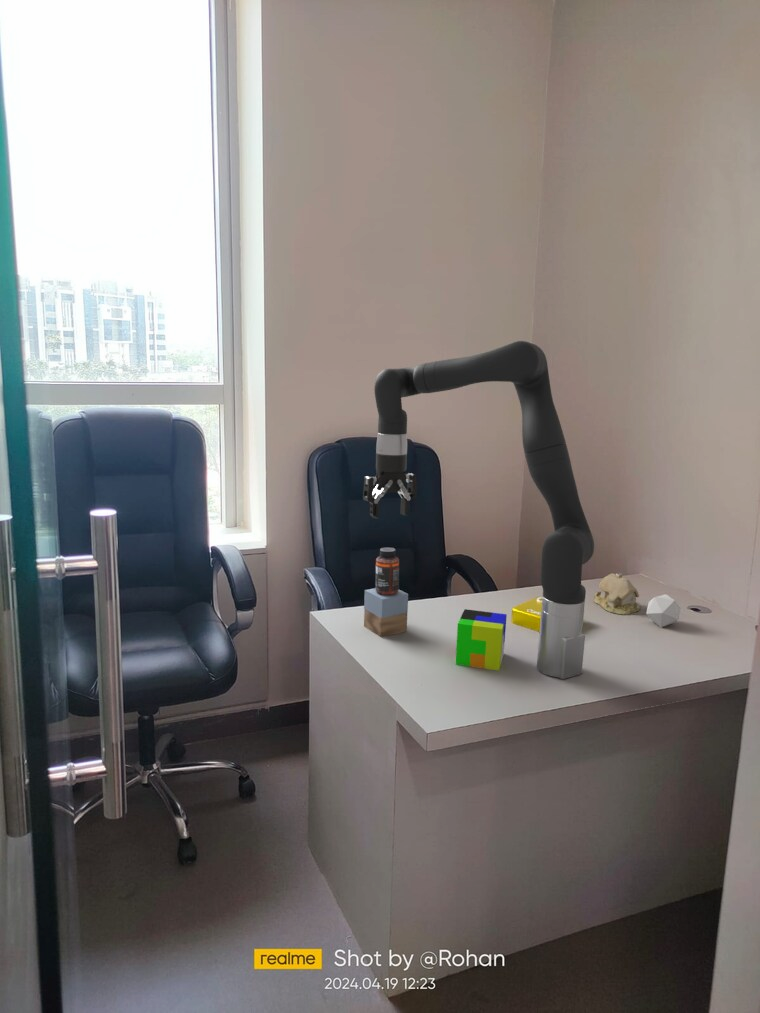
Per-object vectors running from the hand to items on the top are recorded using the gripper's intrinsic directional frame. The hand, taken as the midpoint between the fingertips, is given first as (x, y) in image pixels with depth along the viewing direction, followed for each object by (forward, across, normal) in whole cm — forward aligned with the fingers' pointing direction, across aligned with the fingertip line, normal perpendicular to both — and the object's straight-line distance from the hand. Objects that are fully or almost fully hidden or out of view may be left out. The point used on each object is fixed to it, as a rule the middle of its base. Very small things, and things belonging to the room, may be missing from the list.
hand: (389, 516), depth 180 cm
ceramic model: (+30, +69, -15) cm, 77 cm away
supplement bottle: (+20, 0, 0) cm, 20 cm away
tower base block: (+30, 0, 0) cm, 30 cm away
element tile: (+30, +41, -16) cm, 54 cm away
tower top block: (+25, 0, 0) cm, 25 cm away
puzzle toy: (+30, +10, -26) cm, 41 cm away
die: (+30, +69, -31) cm, 81 cm away
